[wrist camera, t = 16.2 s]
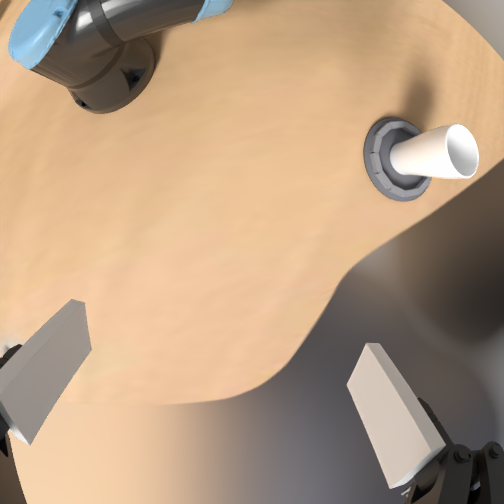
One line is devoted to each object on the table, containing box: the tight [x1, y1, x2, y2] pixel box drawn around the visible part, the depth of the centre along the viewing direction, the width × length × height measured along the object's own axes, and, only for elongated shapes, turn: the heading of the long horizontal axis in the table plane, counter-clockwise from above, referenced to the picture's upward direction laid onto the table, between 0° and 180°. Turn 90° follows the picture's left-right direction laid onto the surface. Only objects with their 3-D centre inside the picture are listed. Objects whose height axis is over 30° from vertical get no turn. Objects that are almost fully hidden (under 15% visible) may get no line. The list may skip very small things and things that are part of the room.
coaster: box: [363, 118, 432, 201], centre depth 37 cm, size 14×14×2 cm
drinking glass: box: [390, 124, 479, 179], centre depth 30 cm, size 7×7×15 cm
